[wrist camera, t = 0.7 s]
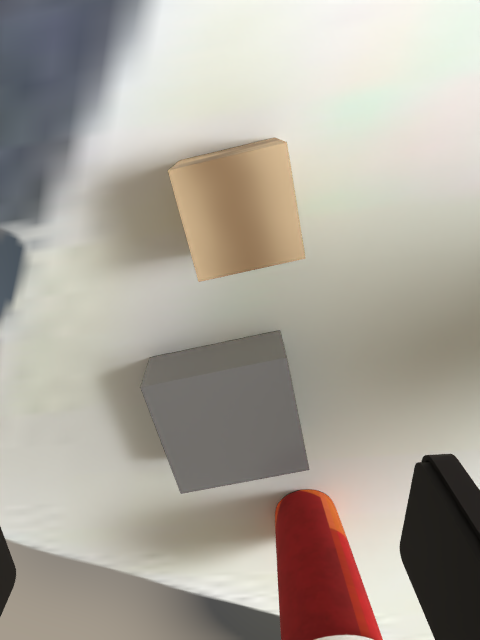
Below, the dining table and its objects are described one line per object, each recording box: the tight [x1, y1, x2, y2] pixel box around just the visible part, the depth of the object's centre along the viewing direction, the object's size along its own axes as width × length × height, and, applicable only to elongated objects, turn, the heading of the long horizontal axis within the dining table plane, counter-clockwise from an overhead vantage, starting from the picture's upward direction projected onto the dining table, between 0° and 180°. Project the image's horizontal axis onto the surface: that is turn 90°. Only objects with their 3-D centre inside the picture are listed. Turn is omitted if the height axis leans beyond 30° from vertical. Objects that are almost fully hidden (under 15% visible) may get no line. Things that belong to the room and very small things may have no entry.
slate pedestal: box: [140, 330, 309, 494], centre depth 32 cm, size 10×10×4 cm
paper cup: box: [275, 490, 383, 640], centre depth 34 cm, size 8×8×14 cm
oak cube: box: [168, 138, 305, 282], centre depth 25 cm, size 6×6×6 cm
